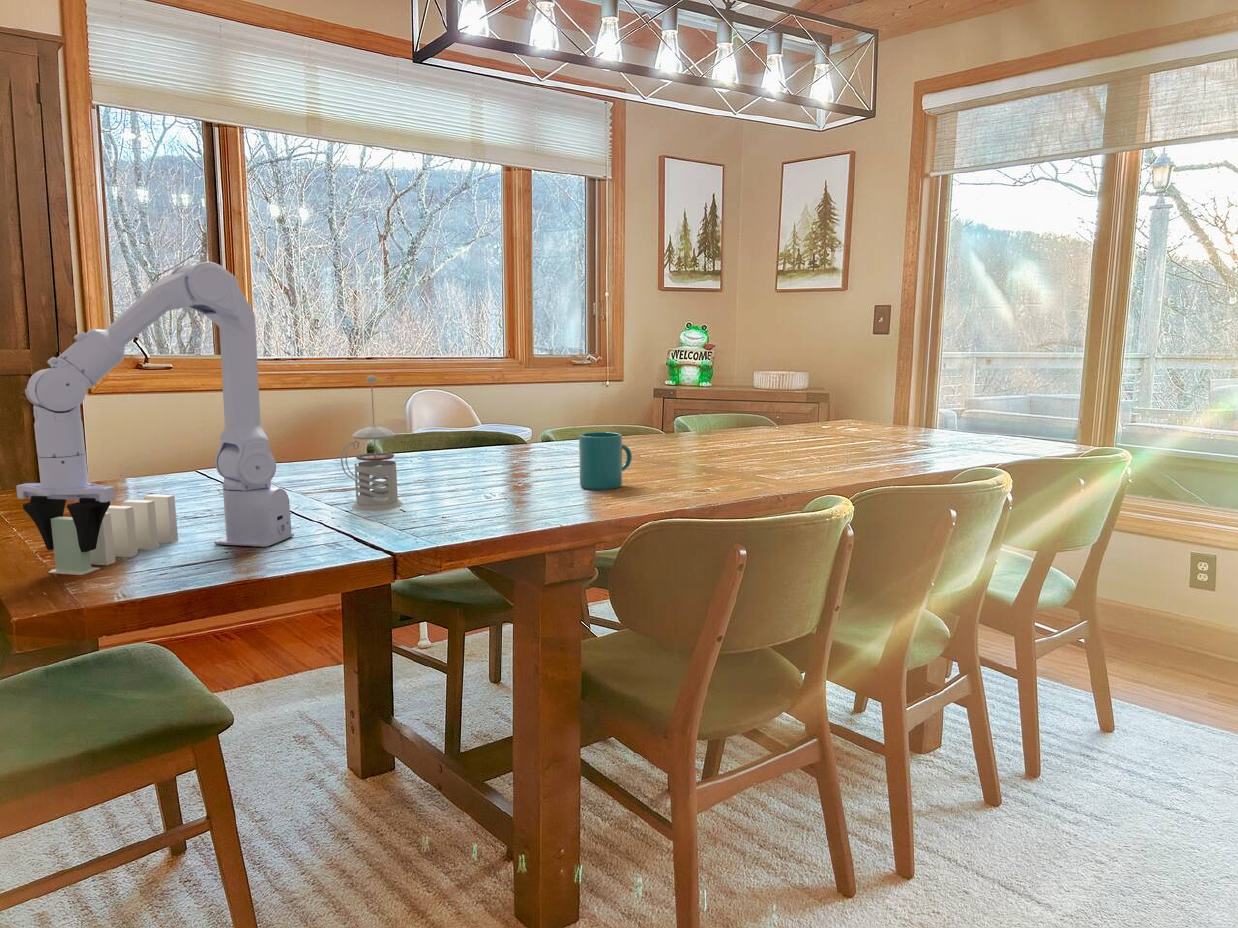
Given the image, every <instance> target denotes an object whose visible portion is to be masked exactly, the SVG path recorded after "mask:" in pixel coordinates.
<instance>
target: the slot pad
mask: <svg viewBox="0 0 1238 928" xmlns="http://www.w3.org/2000/svg"><path fill="white" fill-rule="evenodd" d="M91 568H92V569H90V570H87V571H84V572H74V571H57V570H56V568H55V569H52V570H50V571H48V574H57V575H58V574H60V575H74V576H75V575H76V576H83V575H86V574H90V573H92V572H95V571H98V570H100V569H101V568H100V567H94V566H91Z"/></svg>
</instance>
